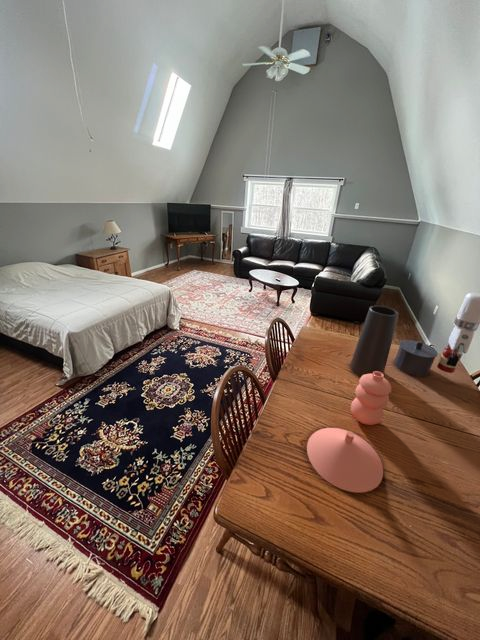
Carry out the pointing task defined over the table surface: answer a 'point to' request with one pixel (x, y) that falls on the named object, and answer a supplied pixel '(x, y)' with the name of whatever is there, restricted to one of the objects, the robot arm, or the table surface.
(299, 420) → the table surface
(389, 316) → the vase
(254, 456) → the table surface
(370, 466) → the ceramic vessels
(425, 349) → the pot lid
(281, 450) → the table surface
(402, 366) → the pot
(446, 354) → the sauce can
